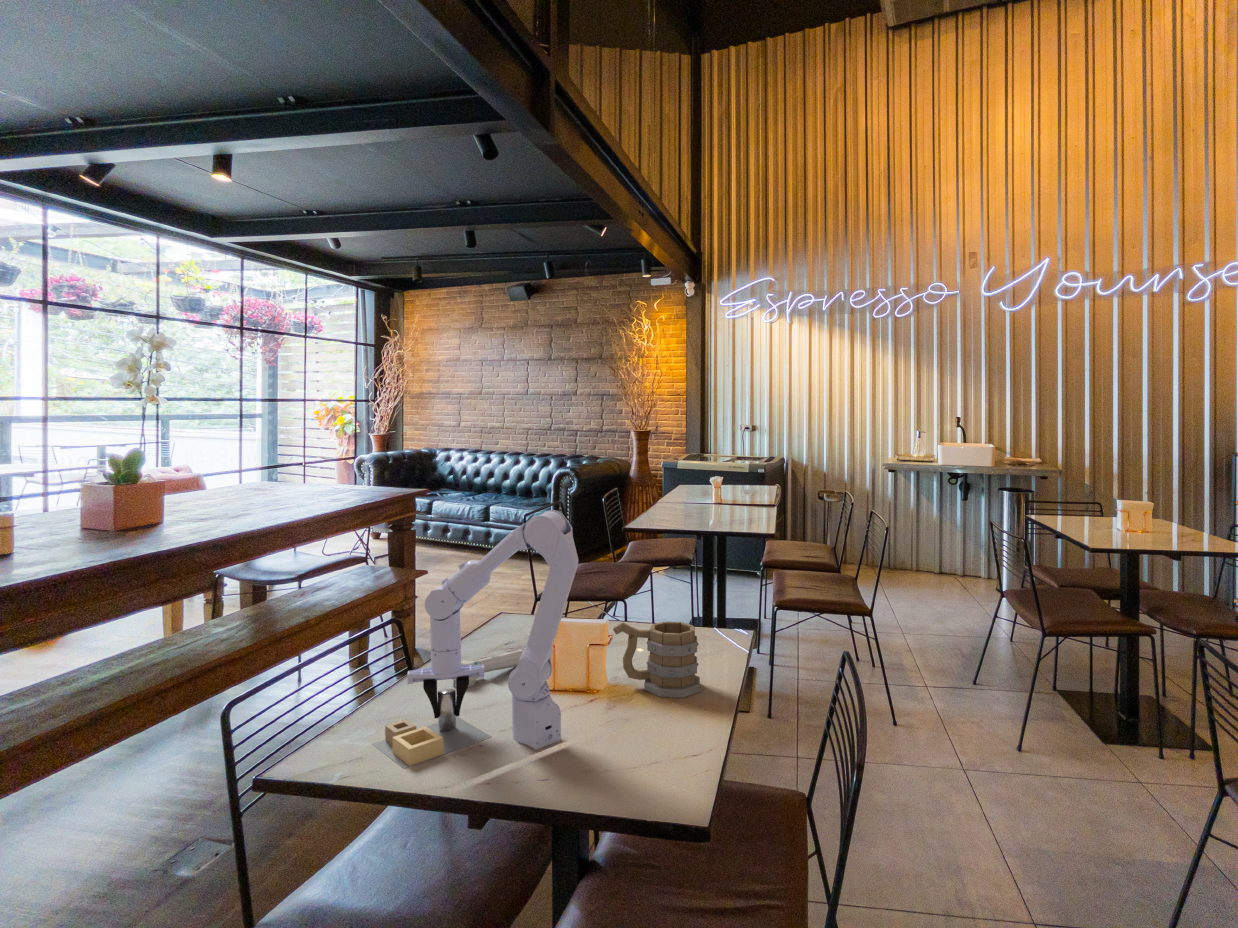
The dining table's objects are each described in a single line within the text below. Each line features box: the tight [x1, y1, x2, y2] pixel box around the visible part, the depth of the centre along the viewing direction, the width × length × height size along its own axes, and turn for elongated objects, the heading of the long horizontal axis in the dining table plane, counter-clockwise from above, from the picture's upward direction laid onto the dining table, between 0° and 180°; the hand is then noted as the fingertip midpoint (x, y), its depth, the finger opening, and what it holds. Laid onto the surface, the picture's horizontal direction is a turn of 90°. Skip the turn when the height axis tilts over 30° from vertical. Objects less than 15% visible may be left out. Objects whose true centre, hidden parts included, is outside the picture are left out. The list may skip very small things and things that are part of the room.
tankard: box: [612, 621, 701, 699], centre depth 161 cm, size 20×13×15 cm, turn 84°
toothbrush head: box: [451, 647, 525, 689], centre depth 169 cm, size 5×7×25 cm
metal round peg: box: [437, 687, 457, 730], centre depth 137 cm, size 3×3×7 cm
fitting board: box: [371, 716, 492, 770], centre depth 132 cm, size 13×18×4 cm
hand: (447, 715), depth 137 cm, fingers closed on metal round peg, 3 cm apart
